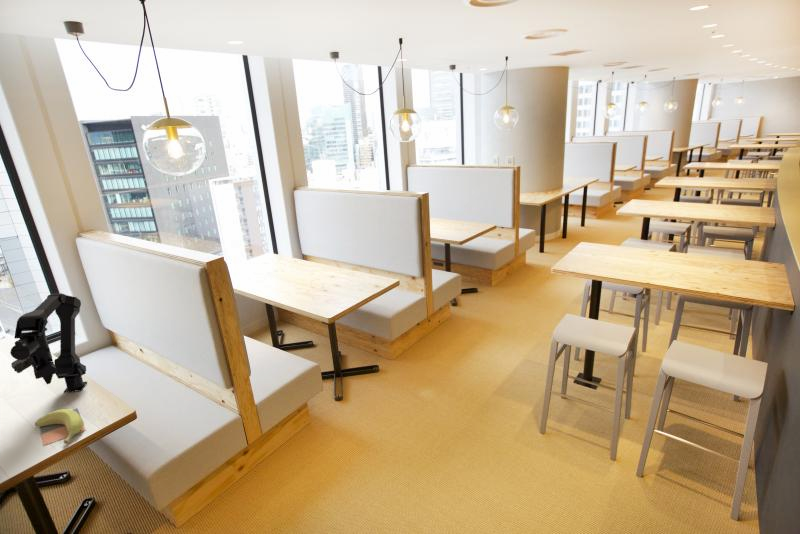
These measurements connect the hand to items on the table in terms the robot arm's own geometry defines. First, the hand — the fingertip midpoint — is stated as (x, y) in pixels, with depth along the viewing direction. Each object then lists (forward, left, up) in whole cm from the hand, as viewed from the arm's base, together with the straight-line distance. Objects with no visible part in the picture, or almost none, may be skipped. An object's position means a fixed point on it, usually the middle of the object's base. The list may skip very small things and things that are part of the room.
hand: (48, 383), depth 165 cm
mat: (+8, +4, -12) cm, 15 cm away
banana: (+16, +8, -12) cm, 21 cm away
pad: (+16, +9, -12) cm, 22 cm away
